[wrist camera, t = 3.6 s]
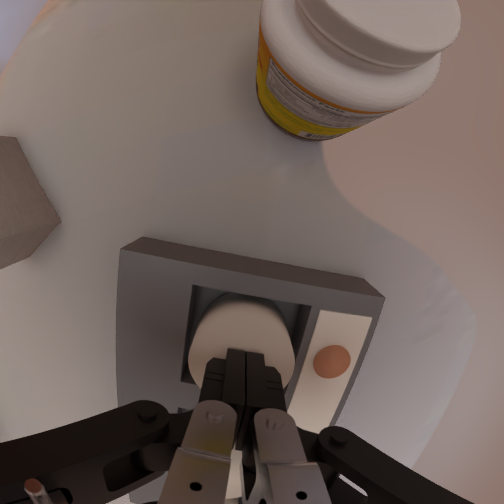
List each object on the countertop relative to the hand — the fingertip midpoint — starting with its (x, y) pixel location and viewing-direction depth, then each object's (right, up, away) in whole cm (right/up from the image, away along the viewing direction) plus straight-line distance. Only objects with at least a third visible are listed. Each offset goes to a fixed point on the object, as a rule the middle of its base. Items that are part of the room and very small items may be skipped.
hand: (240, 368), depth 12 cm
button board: (-1, -6, +6) cm, 8 cm away
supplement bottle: (+3, +13, +2) cm, 14 cm away
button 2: (0, +1, +3) cm, 3 cm away
